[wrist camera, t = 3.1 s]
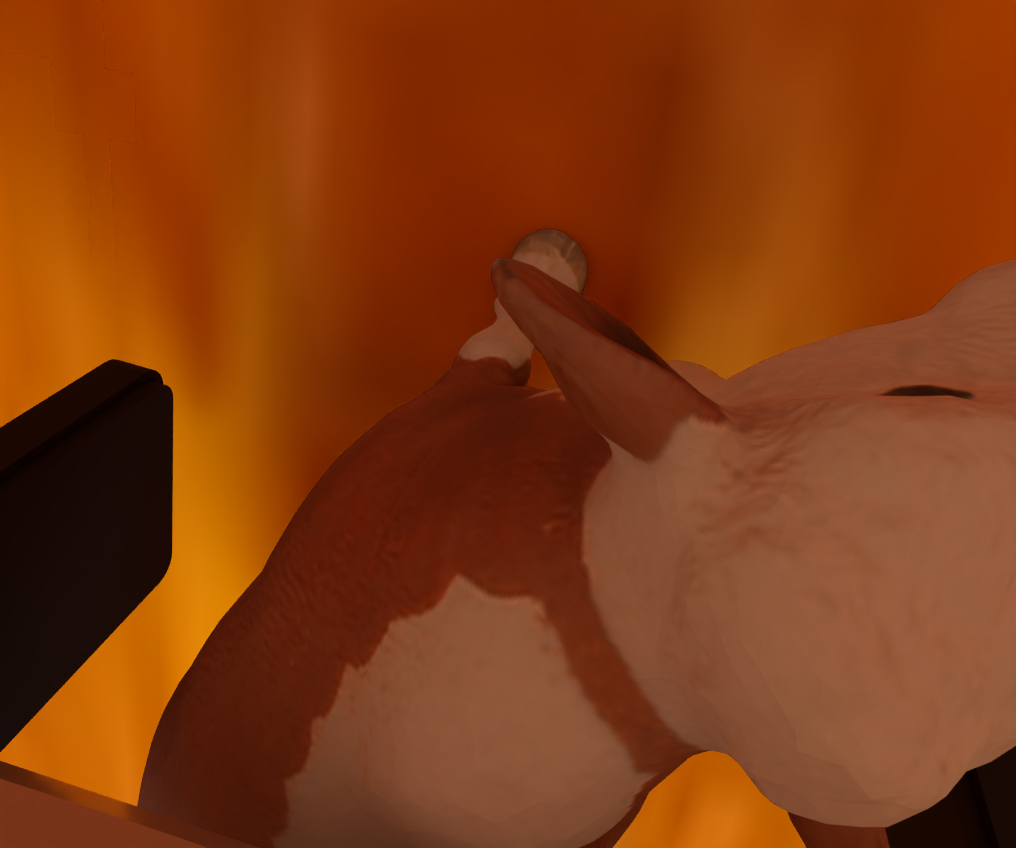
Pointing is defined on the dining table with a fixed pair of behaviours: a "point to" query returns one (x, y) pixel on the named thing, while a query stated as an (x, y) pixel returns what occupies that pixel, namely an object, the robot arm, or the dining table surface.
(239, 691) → the bull figurine
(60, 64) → the dining table surface
